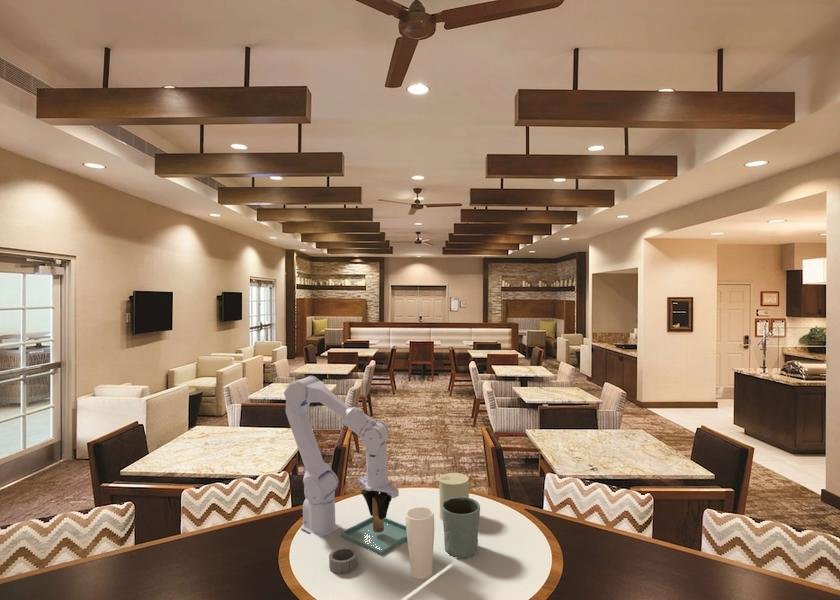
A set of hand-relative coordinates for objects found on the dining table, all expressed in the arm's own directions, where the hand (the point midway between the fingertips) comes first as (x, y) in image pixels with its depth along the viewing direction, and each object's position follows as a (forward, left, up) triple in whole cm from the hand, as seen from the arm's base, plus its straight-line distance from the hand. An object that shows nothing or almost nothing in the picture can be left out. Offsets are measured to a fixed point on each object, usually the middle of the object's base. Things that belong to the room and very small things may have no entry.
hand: (378, 516), depth 136 cm
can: (+9, +23, -6) cm, 25 cm away
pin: (0, 0, -4) cm, 4 cm away
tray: (0, 0, -6) cm, 6 cm away
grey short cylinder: (+4, -16, -6) cm, 18 cm away
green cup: (+22, +9, -6) cm, 25 cm away
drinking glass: (+21, -6, -6) cm, 23 cm away
